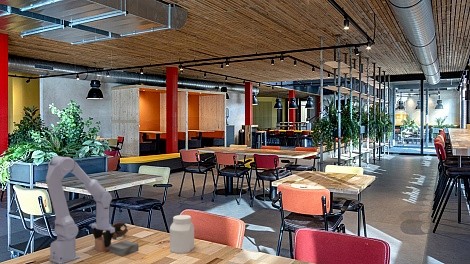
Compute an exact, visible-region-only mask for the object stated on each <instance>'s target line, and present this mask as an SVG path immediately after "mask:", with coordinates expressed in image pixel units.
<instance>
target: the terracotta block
mask: <svg viewBox="0 0 470 264" xmlns="http://www.w3.org/2000/svg"><path fill="white" fill-rule="evenodd" d="M110 245H112V242H111V243H110ZM94 249H95V250H97V251H100V252H105V251H108V250H109V247H105V244H104V237H103V235H102V237H99V238H96V239H95V238H94Z"/></svg>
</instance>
